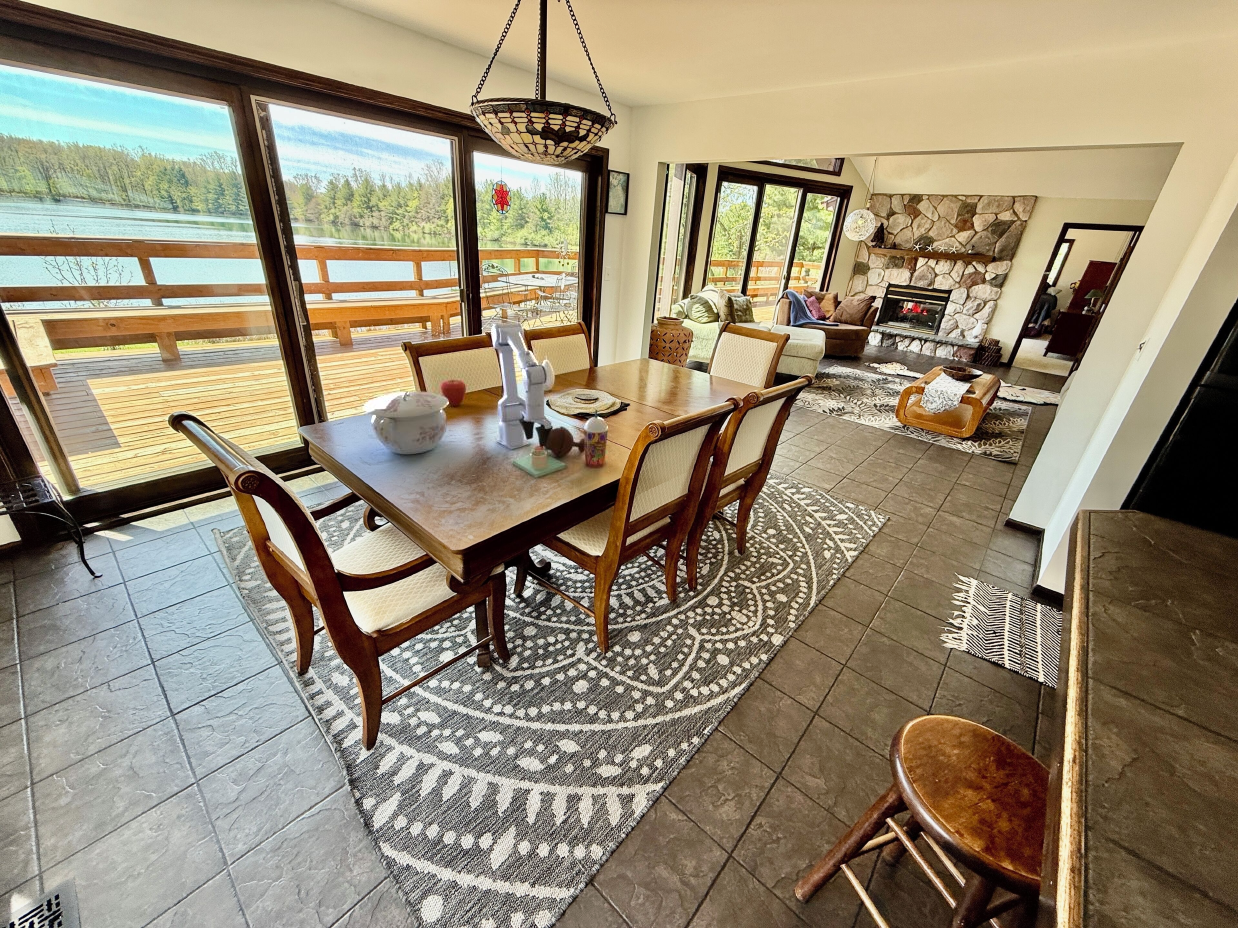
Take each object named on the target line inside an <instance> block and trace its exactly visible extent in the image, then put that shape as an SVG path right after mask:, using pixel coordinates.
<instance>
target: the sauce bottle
mask: <svg viewBox="0 0 1238 928" xmlns="http://www.w3.org/2000/svg"><path fill="white" fill-rule="evenodd" d="M541 365H543V366H544V368H545V370H546V374H547V381H546V383H545V384H544V383H543V384H544V392H549V391H551V389H552V388H554V384H555V380H556V379H555V372H554V369H553V366H552V363H550V360H548V356H547V355H545V359H544V360H543V363H542V364H541Z"/></svg>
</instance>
